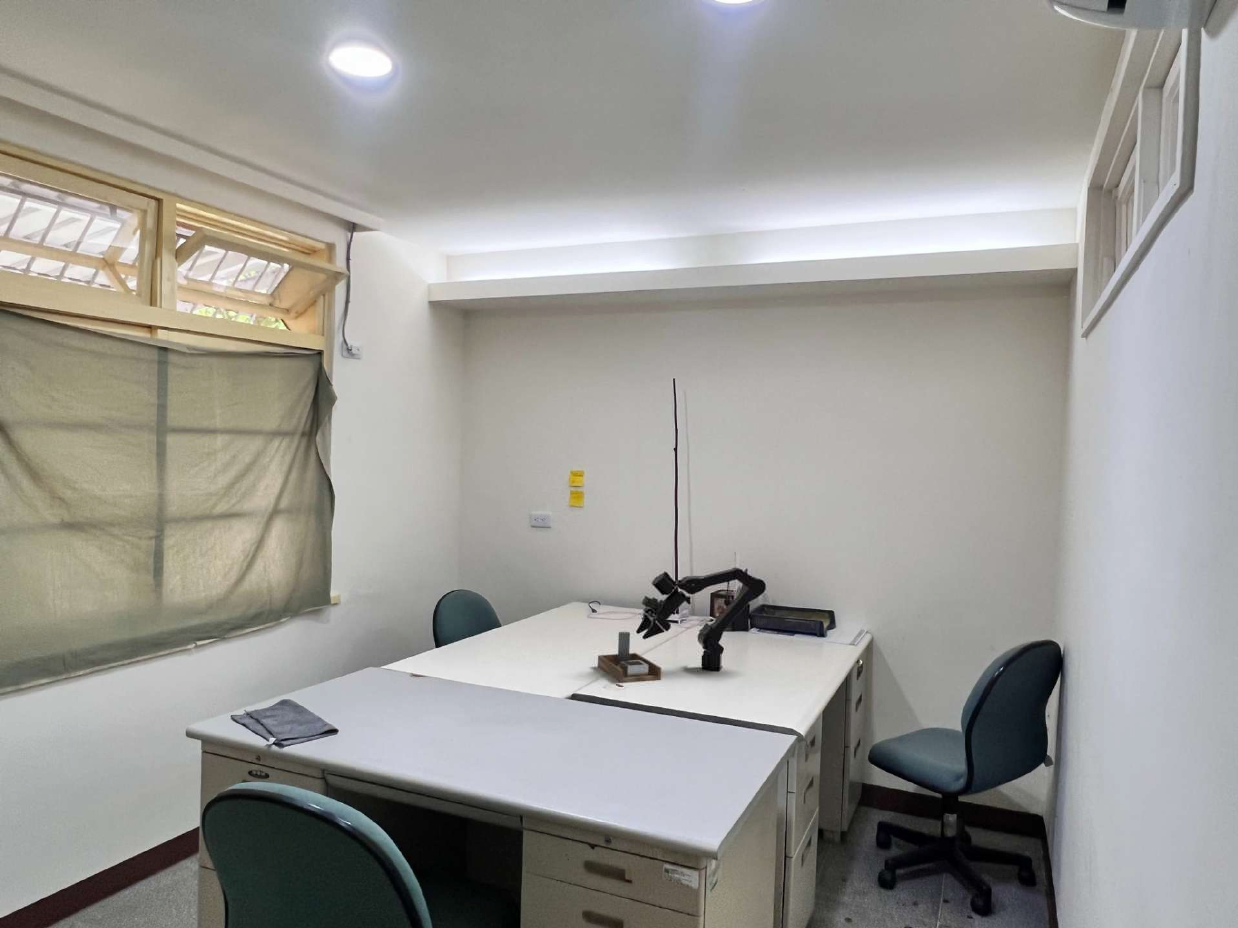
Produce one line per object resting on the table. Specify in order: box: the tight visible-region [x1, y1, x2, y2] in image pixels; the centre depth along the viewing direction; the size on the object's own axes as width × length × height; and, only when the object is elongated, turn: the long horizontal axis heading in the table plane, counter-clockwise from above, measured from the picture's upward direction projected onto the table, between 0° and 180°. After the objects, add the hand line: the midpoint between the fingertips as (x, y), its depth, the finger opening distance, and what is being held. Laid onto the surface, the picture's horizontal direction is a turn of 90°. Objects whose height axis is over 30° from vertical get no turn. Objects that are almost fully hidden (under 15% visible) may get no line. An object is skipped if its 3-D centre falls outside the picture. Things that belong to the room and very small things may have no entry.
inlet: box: [620, 660, 648, 678], centre depth 283 cm, size 8×8×4 cm
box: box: [597, 652, 662, 684], centre depth 287 cm, size 15×23×4 cm, turn 21°
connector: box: [617, 631, 631, 668], centre depth 292 cm, size 4×4×13 cm
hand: (639, 635), depth 293 cm, fingers open, 9 cm apart
